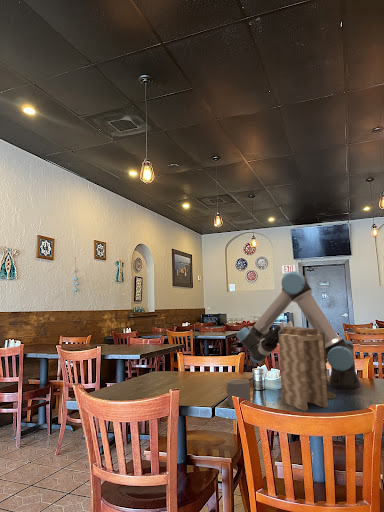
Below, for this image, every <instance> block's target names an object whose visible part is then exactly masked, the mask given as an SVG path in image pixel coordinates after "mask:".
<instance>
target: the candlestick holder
mask: <svg viewBox="0 0 384 512" xmlns="http://www.w3.org/2000/svg"><path fill="white" fill-rule="evenodd" d="M320 334H321V335H323V347H324V360H325V374H326V387H327V400H335V399H337V398H338V396H337V394H335V393H334V392H332V391H330V390H329V387H330V386H329V384H330V383H329V380H328V374H327V373H328V372H327V370H328V368H327V365H326V364H327V363H328V359H327V358H328V356H326V349H325V336H324V333H322V332H321V333H320Z"/></svg>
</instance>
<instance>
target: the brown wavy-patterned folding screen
mask: <svg viewBox="0 0 384 512" xmlns="http://www.w3.org/2000/svg"><path fill="white" fill-rule="evenodd" d="M278 347H279V364H280V381H281V382H280V383H281V396H282V397H281V399H282V403H284V404H287V405H289V406H292V407H294V408H296V409H299V410H300V411H303V412H304V411H308V409H309V408H308V403H311V404H313V405H315V406H318V407H321V408H329V404H328V400H329V399H327V387H326V374H325V360H324V347H323V335H321V334H318V333H317V329H313V328H309V335H307V330H300V329H289V328H283V334H279V343H278Z"/></svg>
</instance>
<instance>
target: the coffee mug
mask: <svg viewBox="0 0 384 512" xmlns="http://www.w3.org/2000/svg"><path fill="white" fill-rule="evenodd" d="M226 393H227V405H228V404H229V405H230V406H229V405H228V406H229V407H231V406H233V401H232V396H236V397H240V398H243V399H245V400H247V401H249V402H251V401H252V400H251V386H250V380H248V379H244V378H243V379H242V378H241V379H240V378H239V379H238V378H237V379H235V378H234V379H229V380H227V382H226Z"/></svg>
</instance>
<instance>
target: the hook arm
mask: <svg viewBox="0 0 384 512" xmlns="http://www.w3.org/2000/svg"><path fill="white" fill-rule="evenodd" d="M279 325H280V324H275V325H274V329H275V328H277V327H278V326H279ZM285 328H289V329H300V330H307V335H309V329H310V327H304V326H303V327H302V326H286V327H285ZM280 333H283V330H282V331H281V332H280Z"/></svg>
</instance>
